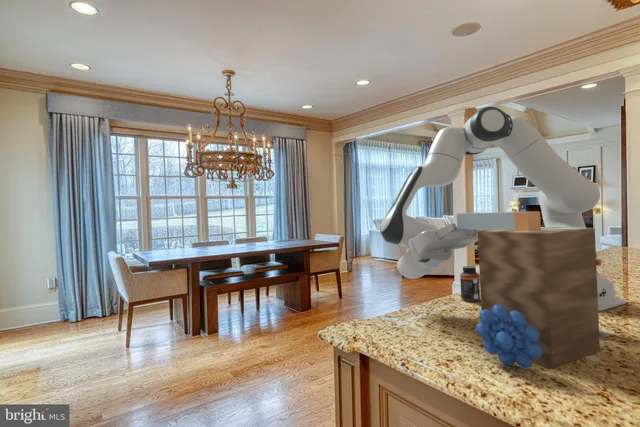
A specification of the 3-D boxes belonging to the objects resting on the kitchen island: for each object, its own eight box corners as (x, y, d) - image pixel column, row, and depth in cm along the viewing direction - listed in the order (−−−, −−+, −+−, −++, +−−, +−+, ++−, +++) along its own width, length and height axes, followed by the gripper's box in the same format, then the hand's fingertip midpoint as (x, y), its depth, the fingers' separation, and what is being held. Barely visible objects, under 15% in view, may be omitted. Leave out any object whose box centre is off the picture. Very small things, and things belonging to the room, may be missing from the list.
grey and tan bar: (457, 229, 90) (456, 213, 90) (468, 228, 92) (468, 212, 92) (528, 231, 73) (527, 212, 73) (540, 230, 75) (540, 211, 75)
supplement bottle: (482, 302, 116) (480, 268, 116) (463, 302, 117) (461, 268, 117) (477, 298, 122) (476, 265, 122) (459, 297, 123) (458, 265, 123)
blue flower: (471, 366, 70) (468, 306, 70) (480, 355, 75) (477, 299, 75) (540, 382, 63) (537, 315, 63) (544, 367, 68) (541, 306, 68)
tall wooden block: (482, 342, 82) (477, 230, 82) (527, 329, 89) (523, 226, 89) (552, 368, 68) (546, 232, 68) (600, 351, 74) (594, 227, 74)
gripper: (467, 254, 103) (502, 232, 92) (411, 262, 95) (443, 239, 84) (457, 235, 106) (490, 211, 95) (402, 241, 97) (432, 216, 86)
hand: (467, 224), depth 89 cm, fingers open, 8 cm apart
